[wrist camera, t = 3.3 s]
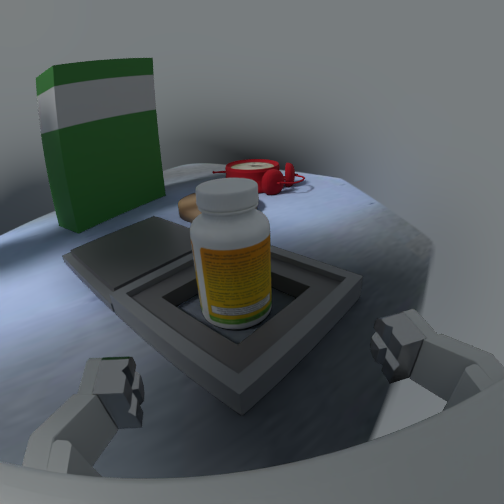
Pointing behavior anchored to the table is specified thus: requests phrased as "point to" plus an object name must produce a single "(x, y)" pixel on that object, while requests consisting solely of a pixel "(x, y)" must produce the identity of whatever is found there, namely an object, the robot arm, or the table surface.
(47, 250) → the table surface
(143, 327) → the equipment case
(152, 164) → the hardback book
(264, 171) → the alarm clock
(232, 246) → the supplement bottle
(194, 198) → the round brown pad
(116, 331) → the table surface
